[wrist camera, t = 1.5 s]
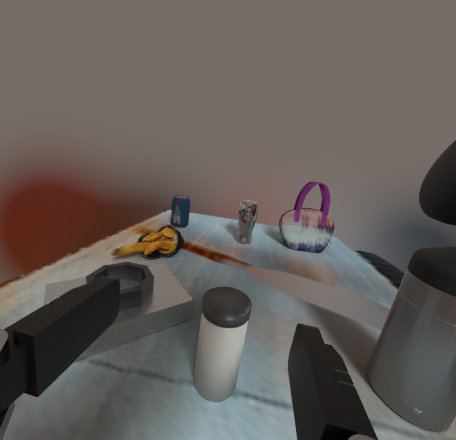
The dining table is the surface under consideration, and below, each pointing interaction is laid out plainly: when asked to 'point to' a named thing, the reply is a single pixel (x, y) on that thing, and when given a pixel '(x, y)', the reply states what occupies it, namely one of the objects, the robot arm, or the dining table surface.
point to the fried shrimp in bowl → (155, 244)
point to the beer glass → (246, 220)
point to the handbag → (308, 223)
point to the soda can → (180, 211)
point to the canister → (221, 342)
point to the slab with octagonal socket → (134, 302)
